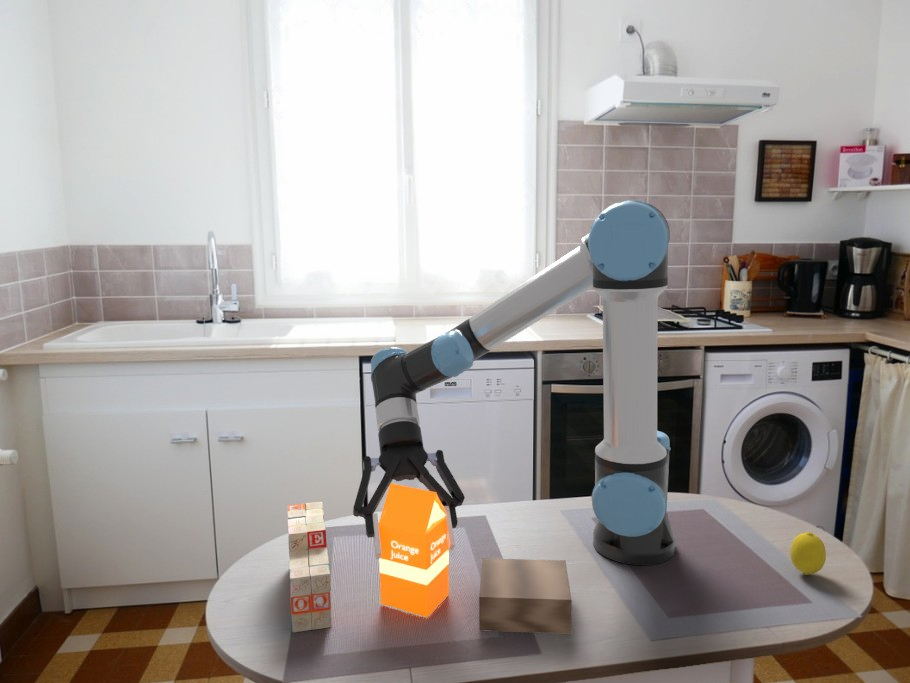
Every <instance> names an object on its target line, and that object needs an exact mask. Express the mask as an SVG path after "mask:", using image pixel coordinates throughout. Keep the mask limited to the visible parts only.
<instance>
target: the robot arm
mask: <svg viewBox="0 0 910 683" xmlns="http://www.w3.org/2000/svg"><path fill="white" fill-rule="evenodd" d="M670 239H671V234H670V226H669V223H668V221H667V219H666V217H665V216H664V214H663V213H662V212H661V210H659V208H657V207H655V205H652V204H650V203H648V202H643V201H642V200H641V201H640V200H625V201H618V202H616V203H613V204H611V205H609V206H607V208H604V209H603V211H601V212H600V213H599V214H598V216H597V217H596V218H595V219H594V221H593V224H592V226H591V227H590V231H589V233H587V234H586V235H584V236H583V237H581V241H580V245H579V246H577V247H576V248H575V249H573V250H572V251H570V252H568V253H567V254H565V255H564V256H562V257H561V258H559V259H557V260H556V261H555V262H553V263H551V264H550V265H548V266H547V267H545V268H544V269H542V270H541V271H539V272H538V273H536V274H534V275H533V276H532V277H530V278H529V279H527V280H525V281H524V282H522V283H520V284H519V285H518V286H516V287H515V288H513V289H512V290H510V291H509V292H507V293H506V294H504V295H503V296H501V297H499V298H498V299H497V300H495V301H494V302H492V303H491V304H489V305H487V306H486V307H484V308H482V309H481V310H480V311H478V312H476V313H475V314H473V315H471V317H469V318H468V319H465V320H464V321H462V322H461V323H459V324H458V325H456V326H455V327H453V328H452V329H450V330H448V331H447V332H445V333H443V334H440V335H439V336H437V337H436V338H432V340H430V341H428V342H425V343H424V344H422V345H420V346H418V347H416V348H414V349H412V350H411V351H407V350H405V349H404V348H401V347H396V346H391V347H389V348H382V349H380V350H379V351H377V352H375V353H374V355H373V356H372V358H371V360H370V370H371V371H370V372H371V373H370V380H371V384H372V391H373V397H374V398H373V399H374V404H375V405H374V407H375V416H376V425H377V426H376V428H377V431H378V434H377V436H378V444H379V453H380V455H379V456H378V457H373V458H372V457H370V456H368V455H366V456H364V457H363V461H362V462H363V464H362V469H363V473H362V477H361V481H360V483H359V487H358V491H357V494H356V497H355V498H356V499H355V501H354V504H353V509H352V514H353V516H354V517H356V518H357V517H361V518H363V519H364V522H365V535H366V537H367V538H368V539H369V538H373V544H374V553H375V554H374V555H375V560H379V559H381V543H380V534H379V517H378V513H375V512H376V510H377V509H378V506H379V505H380V504H381V503H380V502H381V501H382V499H383V497H384V496H385V493H386V492H387V491H388V489H389V486H390V483H392V481H393V480H394V481H395V482H402V481H404V480H408V481H413V480H415V479H416V480H418V482H419V483H421V484H423V486H425V487H426V490H427V491H432V492H437V493H436V494H437V496H438V498H439V500H440V502H441V504H442V506H443V508H444V510H445V512H446V515H445V516H446V539H447V546H448V550H449V551H454V548H455V546H456V540H455V534H454V530H453V529H456V528H457V525H458V516H457V511H456V508H457V507H461V506H462V505H463V503H464V500H465V495H464V493H463V491H462V489H461V488H460V486H459V484H458V483H457V480H456V479H455V476H454V475H453V474H452V472H451V470H450V468H449V467H448V464H447V463H446V462H445V456H444V452H443V450H441V449H438V450H436V452H430V453H429V452H427V451H426V449H425V448H424V442H423V435H422V430H421V428H422V427H420V424H421V422H420V416H419V410H418V402H417V394H418V393H420V392H423V391H425V390H427V389H429V388H431V387H433V386H437V385H438V384H441V383H443V382H445V381H447V380H449V379H450V380H451V379H452V378H457V377H458V376H460V375H461V374H463V373H464V372H466V371H468V370H470V369H471V368H472V367H473V365H474V362H475V361H476V360H478V359H480V358H481V357H482V356H484V355H486V354H488V353H489V352H490V351H491V350H494V349H495V348H497V347H499V346H500V345H502V344H503V343H505V342H506V341H508V340H510V339H511V338H513V337H515V336H516V335H517V334H519V333H521V332H522V331H524V330H526V329H528V328H530V327H531V326H533V325H534V324H535V323H537V322H540V320H543V318H544V319H545V317H548V316H549V315H550V314H551V313H554V312H555V311H556V310H558V309H560V308H561V307H563V306H566V304H569V303H570V302H572V301H573V300H575V299H576V298H578V297H579V296H581V295H583V294H584V293H586V292H588V291H589V290H591V289H593V290H594V291H595V292H596V294H598V295H599V296H600V297H601V299H602V353H603V354H602V358H603V359H602V361H603V362H602V363H603V368H602V370H603V373H602V374H603V440H602V441H600V442H599V443H598V444H597V445H596V446H595V449H594V456H595V457H594V471H595V472H594V474H595V475H594V476H595V477H594V478H595V479H594V484H595V485H594V487H593V489H592V493H591V506H592V510H593V513H594V515H595V517H596V519H597V520H596V523H595V526H594V527H593V532H592V534H593V535H592V545H593V547H594V549H595V550H596V551H597V552H598V553H599V554H601V555H602V556H604V557H606V558H608V559H609V560H612V561H615V562H618V563H622V564H627V565H635V566H649V565H650V566H651V565H657V564H662V563H665V562H666V561H668V560H670V559H671V558H672V557H673V556H674V554H675V551H676V550H675V547H676V539H675V536H674V531H673V528H672V525H671V522H670V518H669V515H668V489H669V470H670V469H669V467H670V466H669V465H670V452H671V447H670V446H671V445H670V444H671V443H670V438H669V435H667V434H666V433H665V432H663V431H659V430H658V346H659V345H658V336H659V334H658V329H659V328H658V325H659V324H658V323H659V322H658V320H659V318H658V314H659V313H658V312H659V311H658V309H659V306H658V305H659V300H658V298H659V297H660V295H661V294H662V293H663V292H664V291H666V289H667V288H668V287H669V286H668V284H669V281H668V280H669V244H670ZM427 462H430V464H431V465H432V466H433V467H435V469H436V471H437V474H438V475H439V477H440V479H441V480H442V482H443V484H444V486H445V488H446V489H447V491H446V489H445V488H444V487H443V486H442V485H441V484H440V483H439V482H438V480H436V479H435V478H434V476H433V475H432V474H431V473H430V471H429V470H428V469H427V467H426V466H425V465H426V464H427ZM378 466H379V467H380V468H381V469H382V470H383V471H384V475H383V477H382V479H381V480H380V482H379V484H378V486H377V488H376V489H375V491H374V493H373V494H372V496H371V498H370V500H369V501H368V503H367V505H366V506H363V505H364V502H365V498H366V495H367V492H368V488H369V484H370V482H371V481H370V480H371V476H372V475H371V474H372V472H375V471H376V468H377V467H378Z"/></svg>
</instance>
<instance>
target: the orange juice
mask: <svg viewBox="0 0 910 683" xmlns="http://www.w3.org/2000/svg"><path fill="white" fill-rule="evenodd" d="M436 493H437V492H432V491H429V490H428V489H421V488H417V487H412V486H406V485H401V484H397V483H392V482H391V483H390V485H389V487H388V488H387V494H386V496H385V501H384V504H383V507H382V511H381V514H380V517H379V518H380V519H379V520H378V524H379V534H380V543H381V559H378V562H379V580H380V582H379V583H380V605H381V604H384V605H387V606H391V607H395V608H398V609H402V610H404V611H408V612H412V613H414V614H418V615H421V616H425V617H428V616H429V615H430V614H431V613H432V612H433V611H434V610H435V608H436V607H437V606H438V605H439V604H440V603H441V602H442V601H443V600H444V599H445V598H446V597H447V596H448V594H449V595H450V593H449V591H450V588H449V587H450V581H449V580H450V579H449V573H450V572H449V571H450V569H449V568H450V567H449V563H450V556H449V555H450V550H448V546H447V539H446V516H445V515H446V512H445V510H444V506H443V505H442V504H441V502H440V500H439V498H438V496H437V494H436Z"/></svg>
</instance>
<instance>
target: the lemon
mask: <svg viewBox="0 0 910 683" xmlns="http://www.w3.org/2000/svg"><path fill="white" fill-rule="evenodd" d="M789 551H790V552H789V553H790V554H789V555H790V560H791V562H792V564H793V566H794V567H795V568H796V569H797V570H798V571H799V572H802V573H803V574H804V576H809V575H810V574H815V573H817V572H819V571H822V570H821V569H822V568H823V567H824V566H825V564H826V559H827V553H826V551H827V550H826V547H825V543H824V542H823V540H822V539H821V538H820V537H819V536H818V535H816V534H814V533H813V532H811V531H807V532H803V533H799V534H798V535H796V536H795V537H794V538H793V540H792V542H791V546H790V550H789Z"/></svg>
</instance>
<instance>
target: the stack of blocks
mask: <svg viewBox="0 0 910 683" xmlns="http://www.w3.org/2000/svg"><path fill="white" fill-rule="evenodd" d="M324 516H325V514H324V502H323V501H314V502H305V503H295V504H289V505H287V530H288V531H287V532H288V537H287V538H288V554H289V560H288V574H289V575H288V576H289V586H290V587H289V588H290V596H289V597H290V598H289V599H290V614H291V627H292V628H291V630H292V633H299V632H305V631H311V630H321V629H326V628H331V626H332V601H331V600H332V599H331V591H332V585H331V584H332V582H331V581H332V580H331V571H330V570H331V569H330V562H329V554H328V545H327V544H328V543H327V529H326V525H325V524H326V523H325V517H324Z"/></svg>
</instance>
